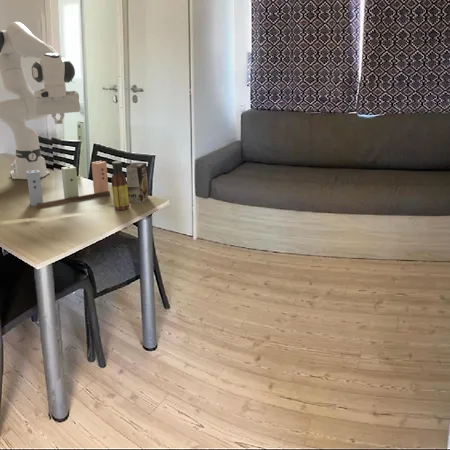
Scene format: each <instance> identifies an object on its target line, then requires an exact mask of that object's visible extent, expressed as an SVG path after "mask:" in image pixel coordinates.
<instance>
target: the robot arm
mask: <svg viewBox="0 0 450 450" xmlns="http://www.w3.org/2000/svg"><path fill="white" fill-rule="evenodd" d="M22 57H23V58H30V59H39V60H38V61H35V62H34V63H33V64H32V66H31V74H32V78H33V79H34V80H35V81H36V82H37V83H38V84H39V83H41V84H44V88H41V89H39V90H35V91H34V90H33V89H32V87H31V86H30V84H29V83H28V80H27V76H26V73H25V70H24V67H23V64H22ZM0 76H1V79H2V82H3V86H4V90H5V91H6V92H7V93H8V94H10V95H13V96H15V97H17V98H14V99H12V98H11V99H6V100H2V101H0V121H1V122H2V123H3V124H5V125H6V126H7V127H8V128H9V129H11V130H10V131H11V132H12V135H13V137H14V141H15V142H14V143H15V147H16V148H15V159H14V160H13V163H12V164H10V166H11V169H12V170H11V171H9V173H10V176H11V178H12V179H13V180H27V172H26V171H33V170H39V172H40V179H41V178H44V177H45V176H47V175H49V174H50V171H49V170H47V166H46V165H47V164H46V160H45V158H44V157H43V156H42V149H41V148H40V141H39V134H38V132H36V130H35V129H33V128H30V127H27V126H26V123H25V122H32V121H39V120H43V119H45V118H48V116H49V115H51V117H52V119H53V120H54V124H55V125H60V124H61V125H62V124H63V120H64V118H65V114H70V113H78V112H79V113H80V111H81V104H80V95H79V93H78V91H76V90H69V91H68V90H67V89H66V84H67V83H68V84H69V83H70V82H72V81H73V79H74V78H75V76H76V69H75V66H74V65H73V63H72V62H71V61H70V60H68V59H66V58H64V56H62V55H61V53H59V52H58V51H57V50H56V49H55V48H54V47H52V46H51V45H50V44H48V43H46V42H44V41H43V40H41V39H39V38H38V37H37V36H35V34H34V33H32V32H31V30H30V29H29V28H28V27H27V26H26V25H24V24H23V23H21V22H19V21H13V22H11V23H9V24H8V25H7V26H6V30H5V29H3V30H0ZM57 115H59V116H60V117H59V119H57Z"/></svg>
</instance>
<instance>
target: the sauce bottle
mask: <svg viewBox="0 0 450 450" xmlns="http://www.w3.org/2000/svg"><path fill="white" fill-rule="evenodd" d="M111 166H112V171H113V172H112V173H113V174H112V175H111V181H110V182H111V189H112V190H111V191H112V197H113V198H112V199H113V200H112V201H113V206H114V209H115V210H117V211H125V210H128V209H129V208H130V203H129V197H128V188H127V176H125V174H124V171H123V162H122V161H121V160H114V161H112V162H111Z"/></svg>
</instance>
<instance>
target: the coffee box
mask: <svg viewBox="0 0 450 450" xmlns="http://www.w3.org/2000/svg"><path fill="white" fill-rule="evenodd" d="M147 166H148V165H147V162H132V163H130V164H129V165H127V166H125V168H126V181H127V188H128V197H129V204H135V205H137V204H138V205H142V204H144V202H145V201H146V200H148V199H149V188H148V187H149V186H148V184H149V183H148V169H147Z"/></svg>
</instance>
